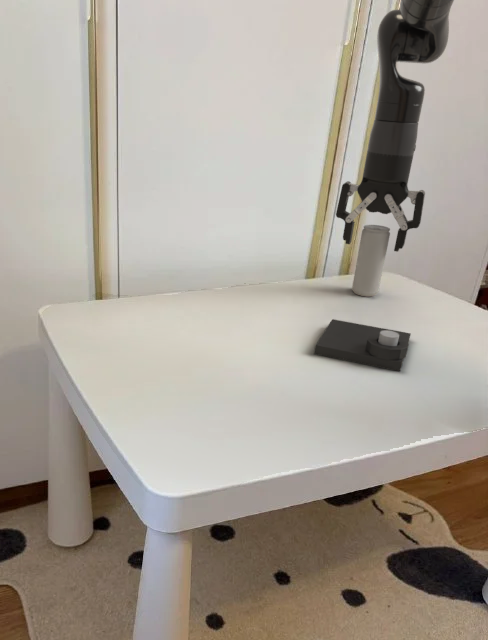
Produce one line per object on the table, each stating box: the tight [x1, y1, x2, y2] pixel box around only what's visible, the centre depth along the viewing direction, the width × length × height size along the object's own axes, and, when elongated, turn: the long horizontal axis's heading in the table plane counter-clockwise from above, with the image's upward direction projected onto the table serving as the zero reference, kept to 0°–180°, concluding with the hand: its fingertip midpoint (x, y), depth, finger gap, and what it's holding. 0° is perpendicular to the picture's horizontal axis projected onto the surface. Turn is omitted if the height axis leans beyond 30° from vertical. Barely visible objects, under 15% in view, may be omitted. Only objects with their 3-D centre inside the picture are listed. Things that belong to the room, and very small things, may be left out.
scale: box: [313, 318, 411, 372], centre depth 93 cm, size 12×12×3 cm
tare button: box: [378, 329, 399, 346], centre depth 88 cm, size 3×3×2 cm
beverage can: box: [351, 224, 391, 297], centre depth 114 cm, size 5×5×12 cm
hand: (372, 246), depth 113 cm, fingers open, 8 cm apart
